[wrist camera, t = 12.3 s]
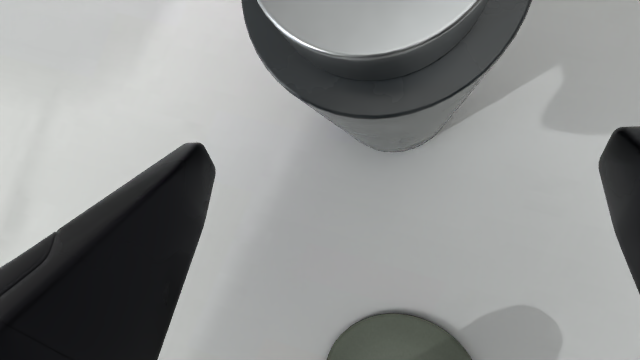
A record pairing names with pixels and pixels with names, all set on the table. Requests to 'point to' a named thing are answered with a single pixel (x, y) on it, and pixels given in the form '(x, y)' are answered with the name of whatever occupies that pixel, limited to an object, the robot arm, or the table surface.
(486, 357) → the table surface
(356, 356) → the coffee cup
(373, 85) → the flask
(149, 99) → the table surface
